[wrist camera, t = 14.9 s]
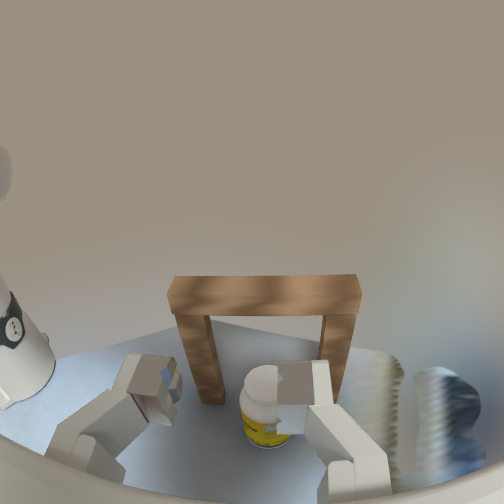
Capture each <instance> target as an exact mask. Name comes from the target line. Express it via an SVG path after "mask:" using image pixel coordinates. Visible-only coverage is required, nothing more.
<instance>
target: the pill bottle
mask: <svg viewBox="0 0 504 504" xmlns="http://www.w3.org/2000/svg"><path fill="white" fill-rule="evenodd" d="M277 381H278V366H274V365H262V366H258V367H256V368H254V369H252V370H251V371H250V372H249V373H248V374H247V375H246V377H245V380H244V387H243V389H242V390H241V393H240V397H239V404H240V409H241V414H242V420H243V425H244V431H245V434H246V437H247V438H248V440H249V441H250V442H251V443H252V444H253V445H255V446H257V447H259V448H263V449H274V448H278V447H281V446H283V445H284V444H286V443H287V442H288V441H289V440H290V438H291V437H292V435H293V434H277Z"/></svg>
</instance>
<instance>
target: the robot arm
mask: <svg viewBox="0 0 504 504" xmlns="http://www.w3.org/2000/svg"><path fill="white" fill-rule="evenodd" d="M11 181H12V162H11V158H10V155H9V153H8V151H7V149H6V147H5V146H4V145H3V143H2V142H1V141H0V202H2V201H3V200H4V199H5V198H6V196H7V194H8V192H9V189H10V186H11ZM54 365H55V358H54V354H53V352H52V350H51V349H50V347H49V338H48V336H47V335H46V334H45V333H40V331H39V330H38V328H37V327H36V325H35V324H34V323H33V321H32V319H31V318H30V316H29V315H28V314H27V312H26V311H23V310H21V308H20V306H19V304H18V301H17V299H16V298H15V297H14V295H13V293H12V292H11V291H9V290H8V288H7V285H6V283H5V281H4V279H3V277H2V274H1V272H0V409H6V408H8V407H9V406H11V405H12V404H13V403H15V402H18V401H21V400H25V399H27V398H29V397H31V396H33V395H34V394H36V393H37V392H38V391H40V390H41V389H42V388H43V387H44V386H45V384H46V383H47V382H48V380H49V379H50V377H51V375H52V372H53V369H54ZM176 365H177V364H176V361H175V359H174V358H172V357H164V356H155V355H148V354H139V353H131V352H130V353H129V354H128V355H127V356H126V358H125V360H124V363H123V365H122V367H121V369H120V371H119V374H118V376H117V378H116V380H115V383H114V385H113V387H112V389H111V390H108V389H107V390H106V391H105V392H103V393H102V394H101V395H99V396H98V397H96V398H95V399H94V400H92V401H91V402H89V403H88V404H87V405H85V406H84V407H82V408H81V409H80V410H78V411H77V412H75V413H74V414H73V415H71V416H70V417H68V418H67V419H65V420H64V421H63V422H61V423H60V424H58V426H57V428H56V430H55V432H54V435H53V437H52V439H51V441H50V444H49V446H48V448H47V450H46V453H45V455H44V456H43V455H41V454H39V453H37V452H34V451H32V450H30V449H28V448H26V447H24V446H22V445H20V444H18V443H16V442H14V441H12V440H10V439H9V438H7V437H5V436H3V435H1V434H0V504H230V503H220V502H211V501H203V500H196V499H189V498H183V497H177V496H172V495H166V494H161V493H157V492H152V491H148V490H143V489H139V488H135V487H131V486H128V485H124V484H122V483H123V480H124V476H125V472H126V471H125V469H124V467H123V466H122V465H121V464H120V463H119V462H117V461H116V460H115V458H116V457H117V456H118V455H119V454H120V453H121V452H122V451H123V450H124V449H125V448H126V447H127V446H128V445H129V444H130V443H131V442H132V441H133V440H134V439H135V438H136V437H137V436H138V435H139V434H140V433H141V432H142V431H143V430H144V429H145V428H146V427H147V426H148V425H149V424H155V425H162V426H171V427H173V423H174V420H175V416H176V412H177V409H176V407H175V405H174V404H175V403H176V402H177V401H179V400H180V397H181V393H182V379H181V375H180V373H179V372H178V371H177V370H175V369H176ZM277 434H304V436H305V438H306V439H307V441H308V442H309V443H310V445H311V446H312V448H313V449H314V451H315V452H316V453H317V455H318V456H319V458H320V459H321V460H322V462H323V463H324V465H325V466H326V467H327V469H326V472H325V474H324V476H323V478H322V480H321V482H320V485H319V487H318V489H317V504H504V460H503V461H500V462H498V463H495V464H493V465H491V466H488V467H486V468H483V469H481V470H478V471H475V472H473V473H470V474H467V475H464V476H461V477H458V478H455V479H452V480H449V481H446V482H442V483H439V484H435V485H432V486H428V487H424V488H421V489H417V490H412V491H408V492H404V493H399V494H394V495H392V488H391V481H390V474H389V467H388V461H387V455H386V453H385V452H384V451H383V450H382V449H381V448H380V447H379V446H378V445H377V444H376V443H375V442H374V441H373V440H372V439H371V438H370V437H369V436H368V435H367V433H366V432H365V431H364V430H363V429H362V428H361V427H360V426H359V425H358V424H357V423H356V422H355V421H354V420H353V419H352V418H351V417H350V415H349V414H348V413H347V412H346V411H345V410H344V409H343V408H342V407H341V406H340V405H339V404H334V402H333V393H332V385H331V377H330V369H329V362H328V360H311V361H310V360H297V361H278V381H277Z"/></svg>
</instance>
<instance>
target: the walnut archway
mask: <svg viewBox="0 0 504 504" xmlns="http://www.w3.org/2000/svg"><path fill="white" fill-rule="evenodd" d="M167 297H168V300H169V305H170V308H171V312H172V314H174V315H175V318H176V321H177V325H178V329H179V332H180V336H181V339H182V343H183V346H184V349H185V353H186V356H187V359H188V362H189V365H190V369H191V372H192V375H193V378H194V381H195V384H196V387H197V390H198V393H199V396H200V399H201V402H202V403H206V404H220V405H224V399H225V389H224V384H223V380H222V375H221V371H220V366H219V361H218V357H217V352H216V347H215V342H214V337H213V332H212V327H211V322H210V317H209V315H214V316H307V315H323V321H322V330H321V338H320V346H319V354H318V360H328V362H329V369H330V377H331V385H332V393H333V402H334V404H336V402H337V398H338V394H339V390H340V387H341V383H342V379H343V375H344V370H345V366H346V362H347V358H348V353H349V349H350V344H351V339H352V335H353V330H354V325H355V320H356V315H357V314H358V313H359V307H360V302H361V297H362V291H361V288H360V285H359V282H358V279H357V276H356V274H351V275H350V274H347V275H302V276H301V275H298V276H175V278H174V280H173V282H172V284H171V286H170V288H169V290H168V293H167Z"/></svg>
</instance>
